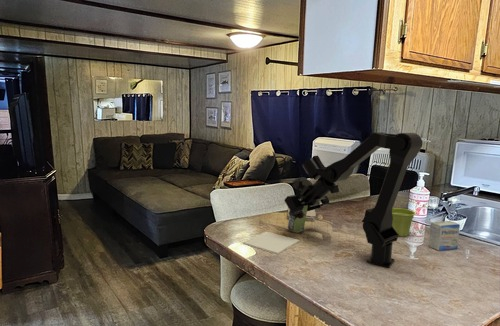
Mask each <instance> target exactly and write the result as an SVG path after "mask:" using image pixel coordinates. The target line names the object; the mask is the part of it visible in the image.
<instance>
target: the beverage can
mask: <svg viewBox="0 0 500 326" xmlns="http://www.w3.org/2000/svg"><path fill="white" fill-rule="evenodd" d="M299 200H301V198H299ZM307 208H308V206H304V208H303V210H302V211H303V212H301V213H298V214H295V215H291V216H290V217H289V220H288V224H287V228H288V229H289V230H290V231H291V232H293V233H302V232H303V231H305V226H306V225H305V224H306V221H305V220H306V214H307Z"/></svg>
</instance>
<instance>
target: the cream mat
mask: <svg viewBox="0 0 500 326" xmlns="http://www.w3.org/2000/svg"><path fill="white" fill-rule="evenodd" d="M299 243H300V240H299V239H296V238H292V237H288V236H284V235H281V234H278V233H273V232H269V231H264V232H262V233H260V234H258V235H256V236H255V235H254V236H253V237H251V238H249V239H247V240H244V241H243V242H242V244H243V245H246V246H250V247H252V248H255V249H258V250H263V251H266V252H270V253H272V254H275V255H280V253H283V252H285V251H286V250H287V249H289V248H291V247H293V246H296V245H297V244H299Z"/></svg>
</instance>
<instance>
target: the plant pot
mask: <svg viewBox="0 0 500 326" xmlns="http://www.w3.org/2000/svg"><path fill="white" fill-rule="evenodd" d="M392 215H393V221H392V226H393V228H394V229H395V231H396V232H397V233H398V235H399V237H407V236H409V234H410V231H411V226H412V221H413V219H414V216H416V212H415V211H413V210H411V209H407V208H401V207H396V208H395V207H393V208H392Z"/></svg>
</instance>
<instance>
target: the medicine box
mask: <svg viewBox="0 0 500 326" xmlns="http://www.w3.org/2000/svg"><path fill="white" fill-rule="evenodd" d="M460 226H461V224H460V223H458V222H455V221H451V220H445V221H434V222H432V221H431V222H430V226H429V237H428V238H429V239H428V247H429V248H432V249H434V250H436V251H438V252H441V251H442V252H443V251H451V250H457V249H458V246H459V238H460V237H459V236H460V230H461V229H460V228H461V227H460Z"/></svg>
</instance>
